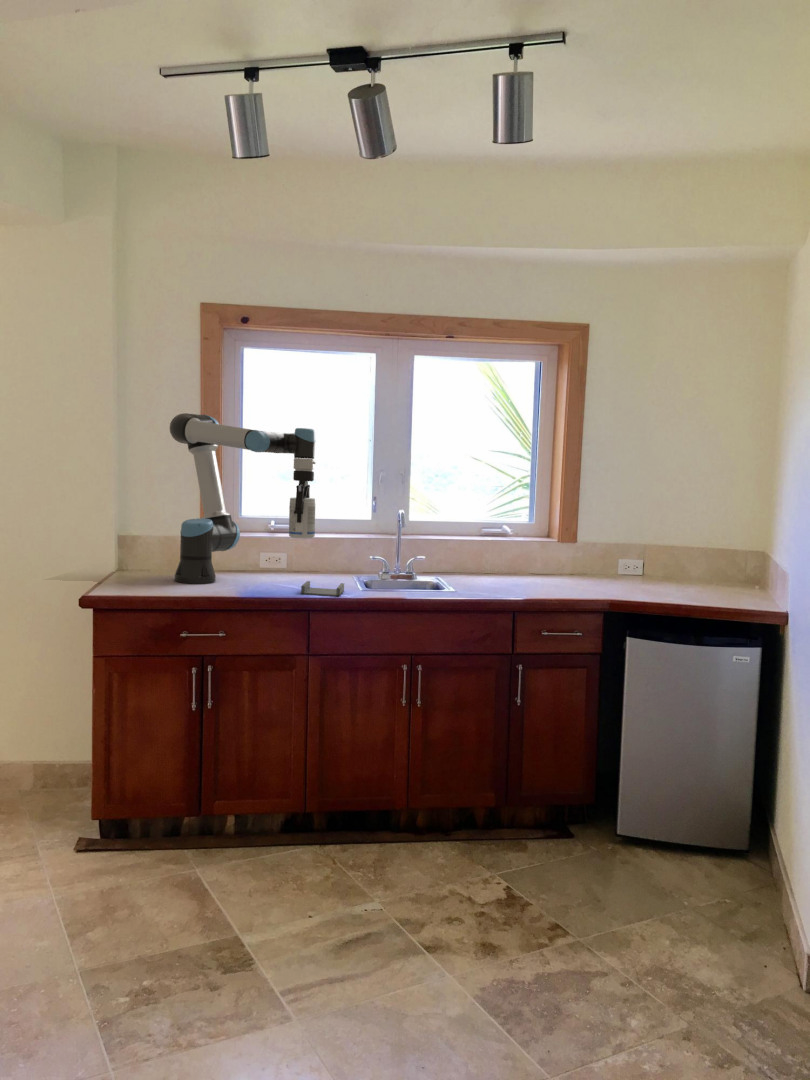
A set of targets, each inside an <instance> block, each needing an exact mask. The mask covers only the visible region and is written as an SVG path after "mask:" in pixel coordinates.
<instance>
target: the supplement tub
mask: <svg viewBox="0 0 810 1080" xmlns="http://www.w3.org/2000/svg"><path fill="white" fill-rule="evenodd" d="M303 501H304V508H303V514H304V518H303V532H295V526H296V514H294V511H295V504H296V497H290V498H289V507H288V509H289V511H288V512H289V514H288V515H289V517H288V518H289V519H288V523H289V524H288V529H289V530H288V536H289V537H290V538H293V539H302V540H303V539H304V540H305V539H313V538H315V534H316V531H315V530H316V498H313V497H310V498H305V499H303Z"/></svg>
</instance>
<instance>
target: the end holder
mask: <svg viewBox="0 0 810 1080" xmlns="http://www.w3.org/2000/svg"><path fill="white" fill-rule="evenodd" d="M300 588H301V590H300V595H306V596H307V595H308V596H324V597H325V596H326V597H339V596H340V595H342V594H343V593H344V592H345V583H340V584H339V585H338V586H336V588H323V587H321V588H320V587H311V580H306V581H305V583H303V584H302V585H301V587H300ZM340 597H341V596H340ZM340 597H339V598H340Z"/></svg>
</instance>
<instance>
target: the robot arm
mask: <svg viewBox="0 0 810 1080" xmlns="http://www.w3.org/2000/svg"><path fill="white" fill-rule="evenodd" d="M169 433H170V435H171V437H172V438H173V439H174V440H175V441H176V442H178V443H180V444H184V445H185V444H186V445H187V449H188V452H189V453H190V454H192V455H193V460H194V466H195V470H196V477H197V483H198V487H199V492H200V493H199V494H200V498H201V504H202V510H203V516H202V517H201V518H200V517H199V518H190V519H186V520H184V521H182V523H181V527H180V534H179V535H180V543H179V545H180V549H179V550H180V551H179V553H180V555H179V556H180V557H179V559H180V560H179V562H178V565H177V567H176V570H175V574H174V582H176V583H183V584H191V585H192V584H194V585H195V584H196V585H197V584H200V585H201V584H213V583H215V582H216V579H217V577H216V572H215V568H214V566H213V563H212V555H213V554H212V553H215V552H225V551H229V550H231V549H233V548H235V547H236V545H237V544H238V543H239V541H240V537H241V530H240V527H239V525H238V524H237V523H236V522H235V521H233V518H232V514H231V513H230V512H228V511H227V508H226V503H225V497H224V492H223V487H222V482H221V481H222V480H221V475H220V470H219V464H218V460H217V454H216V453H217V452H216V451H217V450H218V448H219V446H223V447H230V448H234V449H240V450H241V449H242V450H247V451H251V452H254V453H273V454H293V469H294V470H293V477H292V478H293V481H295V482H298V485H296V494H295V495H296V496H295V498H296V504H295V511H294V514H296V526H295V532H303V518H304V514H303V508H304V501H303V499H305V498H311V497H310V496H311V495H310V489H311V487H310V486H311V485H310V484H309V483H308V482H314V481H315V472H314V471H313V470H315V465H316V464H317V462H316V461H315V450H316V432H315V429H313V428H306V427H305V428H304V427H296V428H295V430H294V433H289V432H275V431H274V432H273V431H264V430H257V429H250V428H244V427H237V426H231V425H227V424H226V425H225V424H220V423H219V421H218V420H217V419H216V418H214V417H213V416H210V415H206V414H198V413H197V414H195V413H188V412H187V413H179V414H177V415H175V416H174V417H173V418H172V419H171V421H170V423H169Z"/></svg>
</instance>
